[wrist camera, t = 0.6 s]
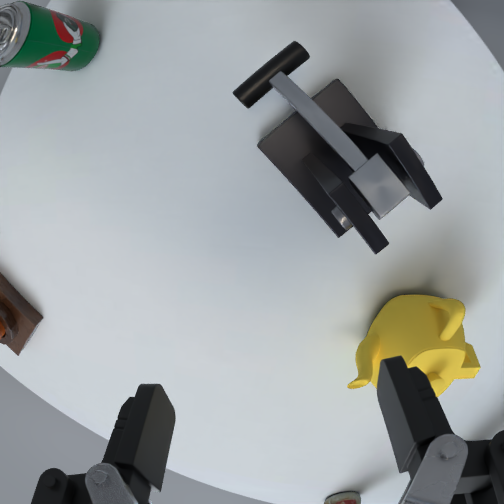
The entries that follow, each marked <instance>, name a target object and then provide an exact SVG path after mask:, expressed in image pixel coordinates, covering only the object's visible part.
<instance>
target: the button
mask: <svg viewBox="0 0 504 504" xmlns="http://www.w3.org/2000/svg"><path fill="white" fill-rule="evenodd" d="M4 334H5V328H4V326H3V325H2V323H1V321H0V339H1V337H2V336H3V335H4Z"/></svg>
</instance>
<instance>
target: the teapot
mask: <svg viewBox="0 0 504 504" xmlns="http://www.w3.org/2000/svg"><path fill="white" fill-rule="evenodd" d="M464 316H465V306H464V304H463V303H462V302H460V301H459V300H456V299H451V298H448V299H442V298H439V297H435V296H429V295H400V296H397V297H395V298H393V299H391V300H390V301H389V302H387V303H386V304H385V305H384V307H383V308H382V309H381V310H380V312H379V313H378V315H377V316H376V318H375V319H374V321H373V323H372V325H371V327H370V329H369V331H368V333H367V336H366V337H365V339H364V340H363V341H362V342H361V343H360V344H359V346H358V349H357V352H356V365H357V369H358V377H357V378H356V379H355V380H354V381H352V382H351V383H349V384H348V386H347V387H348V388H350V389H355V388H360V387H363V386H365V385H367V384H368V383H369V382H370V381H371V383H372V384H373V385H374V386H375V388H376V389H377V382H378V375H379V368H380V361H381V360H382V359H386V358H391V357H395V356H400V355H401V356H402V357H403V358H404V360H405V363H406V365H407V367H408V368H411V367H415V366H417V367H418V368H419V369H420V370H421V371H423V372H424V373H425V374H426V375H427V377H428V379H429V381H430V383H431V386H432V388H433V390H434V392H435V394H436V397H438V396H439V395H441V394H442V393H443V392H444V391H445V390H446V389H447V388H448V387H449V385H450V384H451V383H452V382H453V380H454V379H467V378H474V377H475V376H476V374H477V373H478V371H479V369H480V368H481V367H480V364H479V362H478V359H477V357H476V354H475V351H474V349H473V347H472V345H470V344H468V343H466V342H465V336H464V329H463V325H462V321H463V319H464Z"/></svg>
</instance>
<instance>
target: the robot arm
mask: <svg viewBox="0 0 504 504" xmlns="http://www.w3.org/2000/svg"><path fill="white" fill-rule="evenodd" d="M377 397H378V401H379V405H380V408H381V411H382V414H383V417H384V421H385V424H386V427H387V431H388V434H389V437H390V441H391V444H392V448H393V451H394V455H395V458H396V462H397V465H398V469H399V473H403V472H406V471H409V475H410V478H411V479H410V481H409V483H408V485H407V487H406V489H405V491H404V493H403V495H402V497H401V499H400V501H399V503H398V504H450V503H451V500H452V498H453V495H454V494H462V493H464V494H465V498H466V502H467V504H504V430H502V431H500V432H498V433H497V434H496V435H495V436H494V437H493V439H491V440H481V441H466V440H463V439H462V438H461V437H459V436H457V435H455V434H454V433H453V431H452V429H451V428H450V425H449V423H448V421H447V418H446V416H445V414H444V412H443V409H442V407H441V405H440V403H439V401H438V398H437V397H436V394H435V392H434V390H433V388H432V386H431V383H430V381H429V379H428V377H427V375H426V374H425V373H424V372H423V371H421V370H420V369H419V368H418V367H417V366H415V367H411V368H408V367H407V365H406V363H405V360H404V358H403V357H402V356H401V355H400V356H395V357H391V358H386V359H382V360H381V361H380V368H379V375H378V382H377ZM174 425H175V410H174V407H173V406H172V404H171V402H170V400H169V398H168V396H167V395H166V393H165V391H164V389H163V387H162V386H161V385H160V384H140V385H139V387H138V389H137V392H136V395H135V397H129V398H128V400H127V401H126V402H125V403H124V404H123V406H122V407H121V409H120V412H119V415H118V420H116V423H115V426H114V427H115V429H113V432H112V434H111V437H110V440H109V443H108V446H107V449H106V452H105V455H104V458H103V460H102V462H101V463H99V464H96V465H94V466H93V467H91V468H90V469H89V471H88V472H87V473H85V474H76V475H66V474H65V473H64V472H62V471H61V470H60V469H57V468H51V469H48V470H46V471H45V472H43V474H42V475H41V476H40V478H39V481H38V484H37V487H36V490H35V493H34V496H33V499H32V502H31V504H152V502H151V500H150V499H149V496H150V491H155V492H161V488H162V483H163V478H164V473H165V468H166V463H167V458H168V453H169V449H170V444H171V439H172V434H173V430H174Z"/></svg>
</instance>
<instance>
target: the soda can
mask: <svg viewBox="0 0 504 504" xmlns="http://www.w3.org/2000/svg"><path fill="white" fill-rule="evenodd" d="M99 40H100V38H99V33H98V31H97V29H96V28H95V26H93V25H92V24H90V23H87V22H84V21H82V20H79V19H76V18H74V17H71V16H68V15H65V14H62V13H59V12H56V11H53V10H50V9H47V8H44V7H41V6H37V5H34V4H30V3H27V2H24V1H17V2H13V3H11V4H5V5H2V6H0V67H17V68H39V69H53V70H65V71H76V70H79V69H82V68H83V67H85V66H86V65H87V64H89V63H90V61H91V60H92V59H93V58H94V56H95V54H96V52H97V50H98V47H99Z"/></svg>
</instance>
